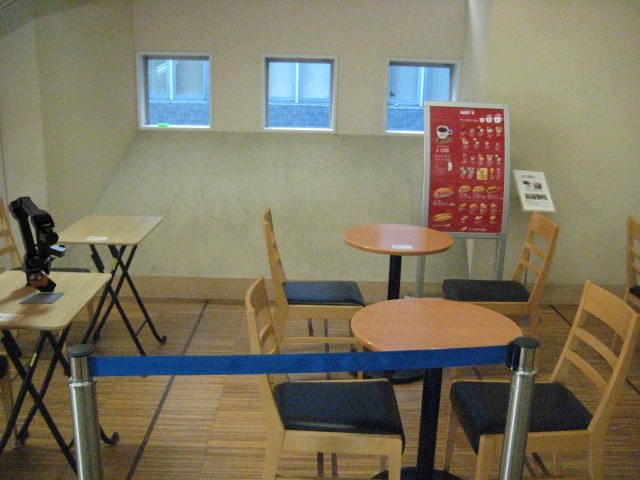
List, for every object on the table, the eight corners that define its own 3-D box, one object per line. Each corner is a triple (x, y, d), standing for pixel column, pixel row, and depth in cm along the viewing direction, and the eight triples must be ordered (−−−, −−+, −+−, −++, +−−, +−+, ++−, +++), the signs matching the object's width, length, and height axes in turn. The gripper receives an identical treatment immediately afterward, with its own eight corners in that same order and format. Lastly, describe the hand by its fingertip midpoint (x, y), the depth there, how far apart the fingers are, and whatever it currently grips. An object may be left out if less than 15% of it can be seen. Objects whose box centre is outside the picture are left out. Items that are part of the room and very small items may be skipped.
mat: (19, 303, 244) (19, 302, 244) (32, 293, 256) (32, 293, 256) (53, 303, 245) (52, 302, 245) (64, 293, 256) (64, 292, 256)
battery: (44, 284, 260) (30, 272, 252) (57, 284, 258) (43, 272, 250) (40, 293, 257) (26, 281, 249) (53, 292, 256) (39, 281, 248)
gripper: (53, 246, 243) (58, 281, 247) (70, 235, 261) (74, 268, 265) (26, 246, 243) (31, 281, 247) (45, 235, 261) (49, 268, 265)
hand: (48, 274), depth 256 cm, fingers closed
